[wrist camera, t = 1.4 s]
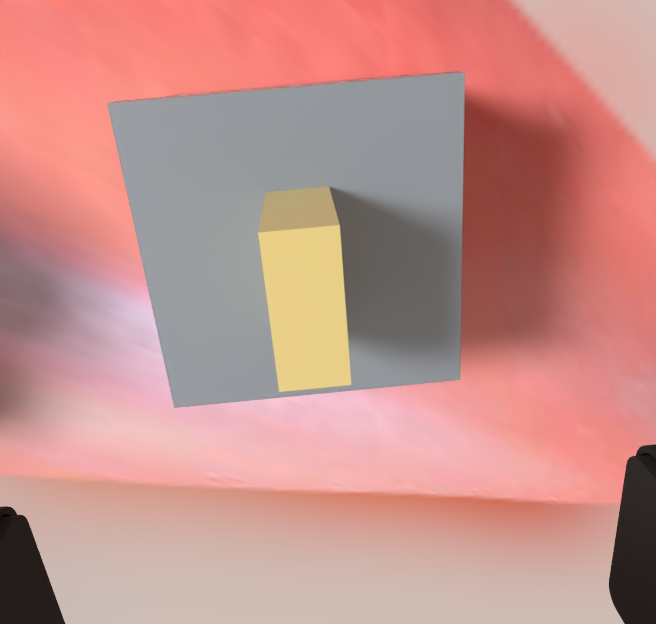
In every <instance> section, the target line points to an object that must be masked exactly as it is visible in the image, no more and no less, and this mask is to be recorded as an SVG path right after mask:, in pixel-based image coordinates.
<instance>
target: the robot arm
mask: <svg viewBox="0 0 656 624" xmlns="http://www.w3.org/2000/svg"><path fill="white" fill-rule="evenodd" d="M609 590H610V595H611V598H612V601H613V604H614V606H615V608H616V610H617V611H618V613H619V615H620V616H621V618H622V620H623V622H624V623H625V624H656V445H646V446H642V447H640V448H639V449H638V451H637V454H636V456H633V457H630V458H629V459H628V461H627V465H626V472H625V478H624V485H623V492H622V498H621V505H620V512H619V519H618V525H617V532H616V538H615V546H614V552H613V559H612V565H611V573H610V578H609ZM0 624H65V622H64V619H63V616H62V614H61V611H60V608H59V605H58V603H57V600H56V597H55V595H54V592H53V589H52V586H51V583H50V581H49V578H48V575H47V572H46V570H45V567H44V564H43V561H42V559H41V556H40V553H39V550H38V548H37V545H36V542H35V539H34V537H33V534H32V531H31V528H30V526H29V523H28V521H27V519H26V517H24V516H23V515H17V514H16V512H15V510H14V509H13V508H11V507H0Z"/></svg>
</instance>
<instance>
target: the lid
mask: <svg viewBox="0 0 656 624" xmlns="http://www.w3.org/2000/svg"><path fill="white" fill-rule="evenodd" d="M464 96H465V72H458V71H456V72H445V73H433V74H422V75H410V76H399V77H388V78H376V79H365V80H353V81H342V82H330V83H319V84H308V85H296V86H285V87H273V88H262V89H250V90H239V91H228V92H216V93H205V94H193V95H182V96H170V97H159V98H148V99H136V100H125V101H115V102H111V103H108V108H109V113H110V117H111V122H112V126H113V131H114V136H115V140H116V145H117V149H118V154H119V158H120V163H121V167H122V172H123V176H124V181H125V186H126V190H127V195H128V199H129V204H130V208H131V213H132V217H133V222H134V226H135V231H136V236H137V240H138V245H139V249H140V254H141V258H142V263H143V267H144V272H145V276H146V281H147V286H148V290H149V295H150V299H151V304H152V308H153V313H154V317H155V322H156V326H157V331H158V336H159V340H160V345H161V349H162V354H163V358H164V363H165V367H166V372H167V376H168V381H169V386H170V390H171V395H172V399H173V404H174V408H178V407H188V406H198V405H208V404H219V403H229V402H239V401H249V400H259V399H270V398H280V397H290V396H300V395H311V394H321V393H331V392H341V391H351V390H362V389H372V388H382V387H392V386H403V385H413V384H423V383H433V382H443V381H454V380H460V356H461V291H462V226H463V161H464Z"/></svg>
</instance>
